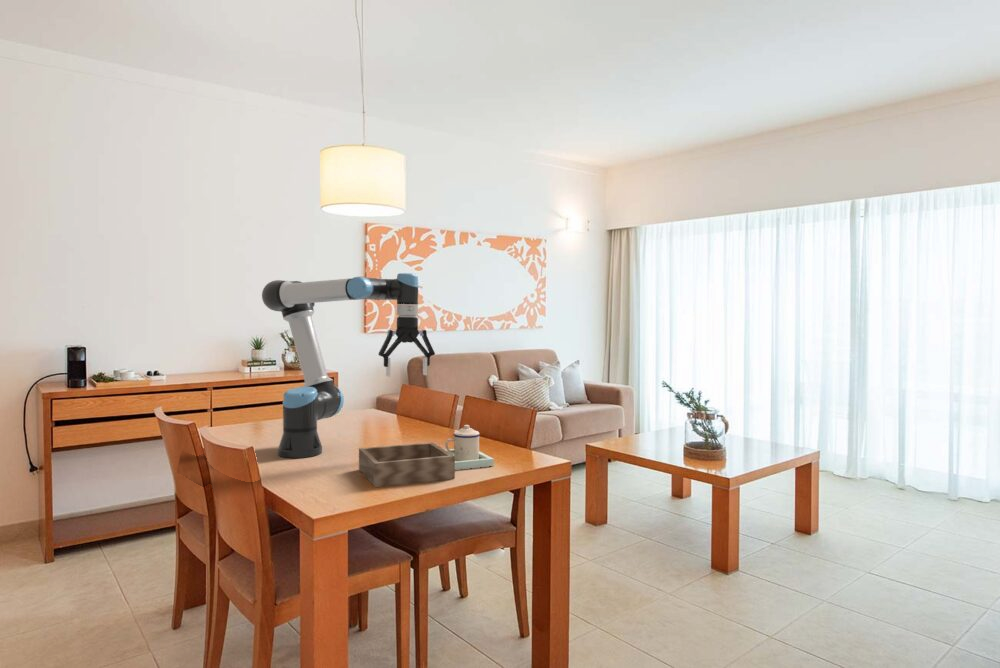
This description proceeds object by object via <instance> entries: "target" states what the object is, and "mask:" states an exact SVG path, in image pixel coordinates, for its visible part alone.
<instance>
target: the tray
mask: <svg viewBox="0 0 1000 668" xmlns="http://www.w3.org/2000/svg"><path fill="white" fill-rule="evenodd" d="M448 449H449V450H451V451H454V448H451V449H450V448H448ZM444 450H445V451H447V449H444ZM447 452H448V451H447ZM449 453H450V452H449ZM450 454H452V455H454V453H450ZM494 461H495V459H494V458H493V457H491V456H489V455H487V454H485V453H484V452H482V451H480V450H479V459H475V460H465V461H457V460H455V471H461V469H462V470H468V469H469V470H470V468H472V469H479V468H480V467H482V468H490V467H489V466H491V467H494V466H495V465H494V463H495V462H494ZM480 469H481V468H480Z"/></svg>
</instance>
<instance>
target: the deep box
mask: <svg viewBox="0 0 1000 668" xmlns="http://www.w3.org/2000/svg"><path fill="white" fill-rule="evenodd" d="M445 450H446V449H444V448H443V447H440V446H439V445H438V444H436V443H434V442H433V441H432V442H421V443H409V444H398V445H397V444H396V445H384V446H371V447H359V448H358V471H359V472H360V473H361V472H362V473H363V474H364V475H363V474H362V473H361V474H362V475H363V476H364V477H365V478H366V480H367V481H368V482H370V483H372V484H373V485H374V486H373V485H372V484H371V485H372V486H373V487H374V488H380V487H390V486H399V485H407V484H416V483H425V482H435V481H445V480H452V479H453V480H454V478H456V477H455V475H456V474H455V473H456V470H455V456H454V455H452V454H450V453H449V452H447V451H445Z"/></svg>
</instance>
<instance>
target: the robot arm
mask: <svg viewBox="0 0 1000 668" xmlns="http://www.w3.org/2000/svg"><path fill="white" fill-rule="evenodd" d="M418 277H419V276H418V274H416V273H411V272H410V273H409V272H406V273H405V272H404V273H403V272H402V273H397V275H396V278H390V279H389V278H377V277H376V278H375V277H374V278H373V277H365V276H355V277H352V278H341V279H340V278H339V279H328V280H327V279H326V280H316V281H303V282H302V281H300V280H293V281H292V280H281V279H276V280H271V281H270V282H268V283H267V284H266V285H264V287H263V288H262V292H261V299H262V302H263V304H264V306H266V307H267V308H268V309H270V310H271V311H274V312H281V315H282V318H283V320H284V321H285V322H287V323H288V324H289V329H290V332H291V335H292V340H293V343H294V346H295V350H296V353H297V354H296V355H297V358H298V361H299V365H300V370H301V373H302V376H303V379H304V380H303V381H304V384H303V386H299V387H294V388H290V389H287V390H286V391H284V393H283V396H282V397H283V399H282V421H283V423H282V429H283V433H282V436H281V439H280V442H279V444H278V448H277V455H278V456H279V457H282V458H288V459H290V458H291V459H299V458H300V459H302V458H309V457H315V456H319V455H321V454H322V453H323V445H322V442H321V439H320V436H319V433H318V421H320V420H324V419H329V418H332V417H333V416H336V415H337V414H339V413H340V412H341V410H342V408H343V407H344V404H345V398H344V393H343V391H342V390H341V389H340V388H339V387H338V386H335V383H334V380H333V378H331V377H329V375H328V372H327V369H326V365H325V361H324V358H323V355H322V351H321V346H320V343H319V339H318V337H317V336H318V335H317V332H316V329H315V325H314V321H313V318H312V317H313V314H314V313H315V309H314V307H315V305H316V303H318V304H319V303H327V302H329V303H330V302H340V301H341V302H342V301H343V302H344V301H352V300H353V301H356V300H357V301H358V300H375V301H381V300H382V301H384V300H386V301H387V300H388V301H389V300H390V301H391V300H394V301H396V316H397V318H396V330H392V329H387V333H386V335H387V336H386V337H385V340H384V342H383V344H382V345H381V347H380V350H379V352H378V356H379V357H382V358H383V367H385V368H386V369H385V371H386V372H385V375H386V377H391V357H390V355H392V353H393V352H394V351H395V350H396V348H398V346H399V345H400V344H401V343H414V345H416V347H417V348H418V349H419V350H420V352H421V353H422V354H423V356H422V375H423V376H428V367H429V366H430V365H431V364H430V363H431V362H430V361H431V360H430V359H431V357H433V356H435V354H436V353H435V350H434V348H433V346H432V344H431V342H430V340H429V337H428V334H427V333H428V332H427V330H426V329H422V330H419V318H418V317H417V316H419V287H420V285H419V278H418ZM395 335H396V337H397V338H396V339H395V340H394V342H393V343H392V344H391V345H390V343H391V340H392V339H393V338H392V337H394V336H395ZM418 336H421V339H422V341H423V343H424V345H425V346H426V348H425V346H424V345H423V344H422V343H421V342H420V340H419V339H418ZM388 346H390V347H389V348H388Z"/></svg>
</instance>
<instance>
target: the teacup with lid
mask: <svg viewBox="0 0 1000 668" xmlns="http://www.w3.org/2000/svg"><path fill="white" fill-rule="evenodd" d="M452 436H453V438H448V439H447V440H446V441H445V443H444V447H445V450H447V451H448V452H450V453H454V456H455V460H457V461H465V460H475V459H479V451H480V436H481V434H480V432H479V431H478V430H475V429H473V428H471V427H470V425H469V424H465V425H464V426H463V427H462V428H460V429H458V430H456V431H454V432H453V435H452ZM451 441H452V442H453V449H454V451H451V450H449V449H450V448H449V447H448V445H449V443H450V442H451Z"/></svg>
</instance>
